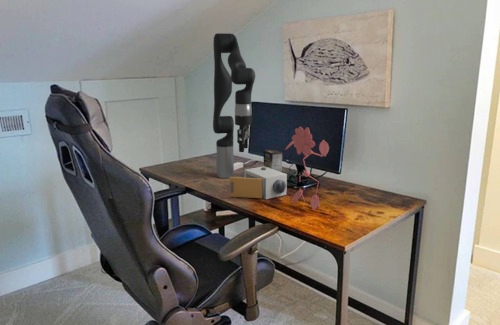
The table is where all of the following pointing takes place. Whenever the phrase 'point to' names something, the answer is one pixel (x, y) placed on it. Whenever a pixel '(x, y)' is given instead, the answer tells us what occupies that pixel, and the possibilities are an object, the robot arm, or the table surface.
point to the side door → (246, 187)
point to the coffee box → (273, 159)
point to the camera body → (269, 181)
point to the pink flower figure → (304, 145)
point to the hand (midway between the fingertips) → (243, 150)
